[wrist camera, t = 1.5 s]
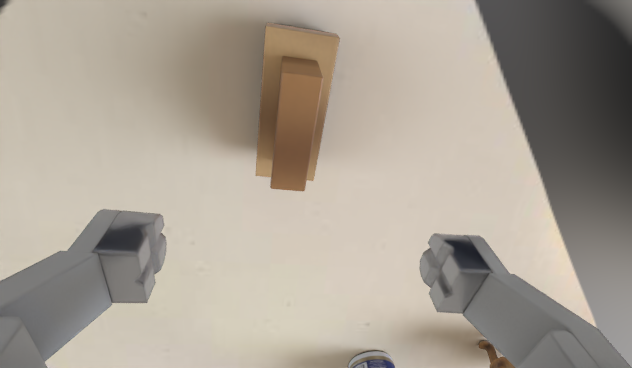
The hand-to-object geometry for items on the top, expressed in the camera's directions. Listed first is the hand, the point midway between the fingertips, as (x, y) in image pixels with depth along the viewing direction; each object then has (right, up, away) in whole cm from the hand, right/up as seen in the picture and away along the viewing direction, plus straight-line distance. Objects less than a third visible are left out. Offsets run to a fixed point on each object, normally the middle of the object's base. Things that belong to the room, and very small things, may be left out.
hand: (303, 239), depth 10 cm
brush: (-1, +7, +10) cm, 12 cm away
